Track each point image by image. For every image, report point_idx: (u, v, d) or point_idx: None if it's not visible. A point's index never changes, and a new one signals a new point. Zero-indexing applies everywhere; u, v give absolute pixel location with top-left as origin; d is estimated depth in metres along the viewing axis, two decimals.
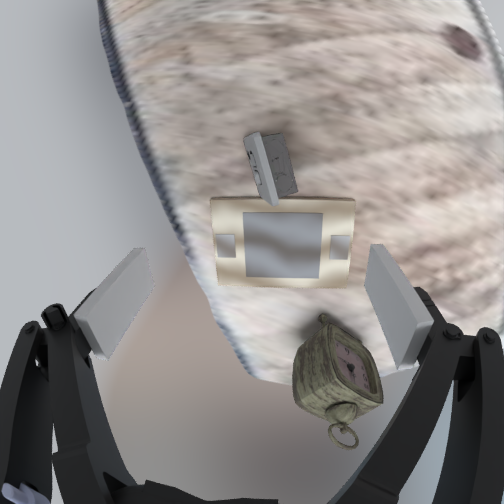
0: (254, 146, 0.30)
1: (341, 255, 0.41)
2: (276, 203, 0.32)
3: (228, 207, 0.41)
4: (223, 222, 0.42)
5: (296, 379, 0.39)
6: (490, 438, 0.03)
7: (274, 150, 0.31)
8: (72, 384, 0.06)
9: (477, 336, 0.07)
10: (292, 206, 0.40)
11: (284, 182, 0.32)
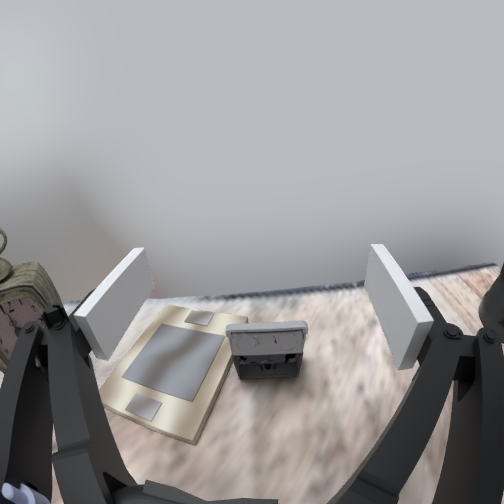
0: None
1: (133, 404, 0.27)
2: (228, 327, 0.29)
3: None
4: (221, 321, 0.41)
5: (52, 283, 0.31)
6: (490, 438, 0.03)
7: (284, 341, 0.28)
8: (72, 384, 0.06)
9: (477, 336, 0.07)
10: (212, 376, 0.32)
11: (247, 343, 0.28)
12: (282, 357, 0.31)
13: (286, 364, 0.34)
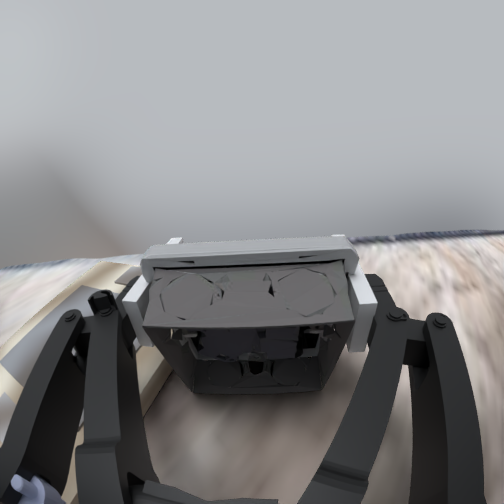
0: None
1: None
2: (145, 254, 0.11)
3: None
4: None
5: None
6: (456, 424, 0.04)
7: (298, 289, 0.10)
8: (111, 376, 0.07)
9: (426, 323, 0.08)
10: None
11: (188, 295, 0.10)
12: (290, 345, 0.13)
13: (295, 362, 0.15)
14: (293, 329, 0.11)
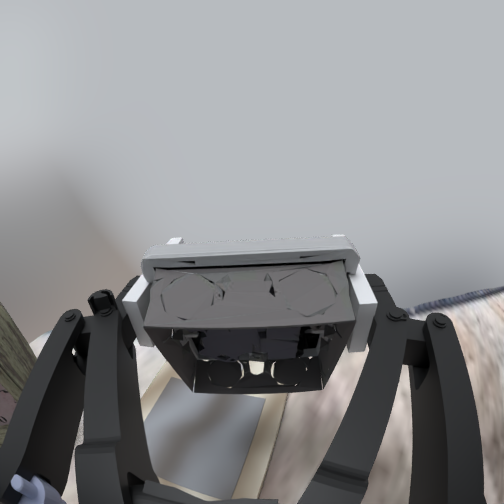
0: None
1: None
2: (146, 254, 0.11)
3: None
4: (257, 374, 0.28)
5: (15, 325, 0.18)
6: (456, 424, 0.04)
7: (299, 289, 0.10)
8: (111, 376, 0.07)
9: (426, 323, 0.08)
10: (255, 463, 0.18)
11: (189, 296, 0.10)
12: (291, 345, 0.13)
13: (296, 362, 0.15)
14: (294, 329, 0.11)
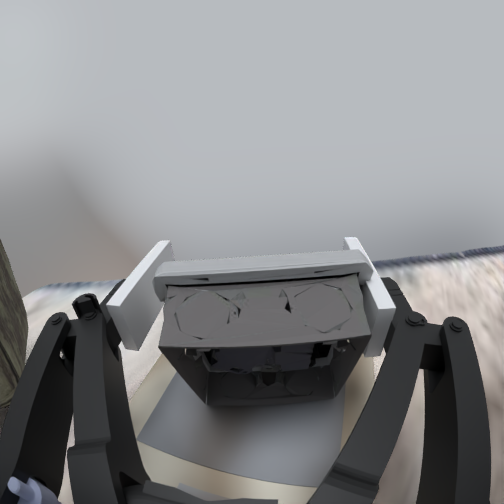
0: None
1: None
2: (157, 271, 0.11)
3: None
4: None
5: None
6: (468, 428, 0.04)
7: (314, 305, 0.10)
8: (98, 378, 0.07)
9: (443, 326, 0.08)
10: (357, 419, 0.12)
11: (204, 314, 0.10)
12: (304, 357, 0.12)
13: (308, 372, 0.15)
14: None
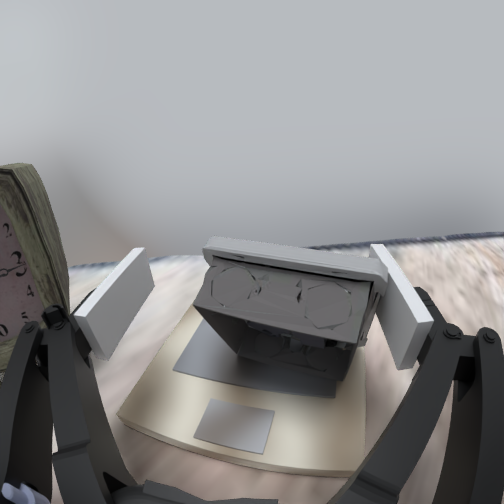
0: None
1: (210, 424, 0.13)
2: (206, 243, 0.14)
3: None
4: None
5: (49, 202, 0.18)
6: (490, 438, 0.03)
7: (321, 301, 0.11)
8: (72, 384, 0.06)
9: (477, 336, 0.07)
10: None
11: (232, 286, 0.13)
12: (319, 339, 0.14)
13: (330, 350, 0.17)
14: None
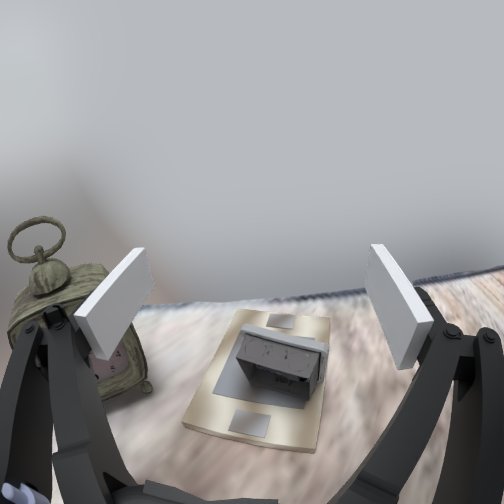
0: None
1: (237, 422, 0.25)
2: (242, 327, 0.27)
3: (321, 329, 0.38)
4: (305, 323, 0.40)
5: None
6: (490, 438, 0.03)
7: (295, 359, 0.24)
8: (72, 384, 0.06)
9: (477, 336, 0.07)
10: None
11: (255, 349, 0.25)
12: (295, 376, 0.26)
13: (303, 383, 0.29)
14: None
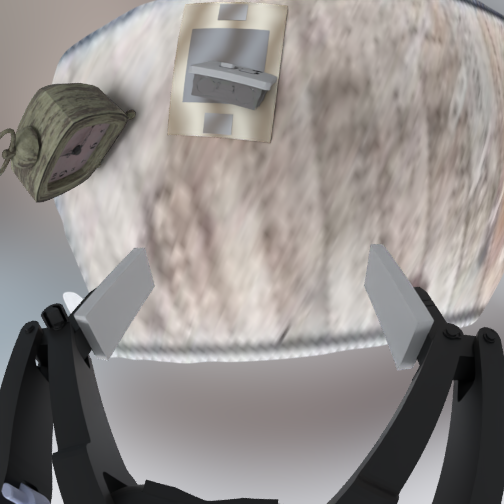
0: (257, 78, 0.24)
1: (208, 125, 0.35)
2: (190, 69, 0.24)
3: (277, 19, 0.27)
4: (260, 12, 0.26)
5: (68, 84, 0.22)
6: (490, 438, 0.03)
7: (242, 93, 0.26)
8: (72, 384, 0.06)
9: (477, 336, 0.07)
10: None
11: (206, 86, 0.25)
12: None
13: None
14: None
